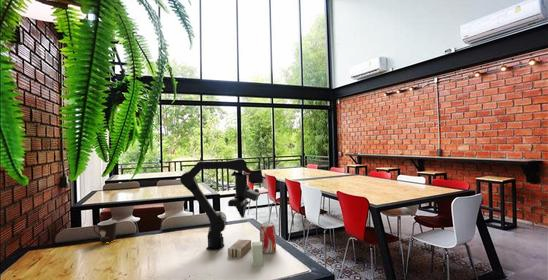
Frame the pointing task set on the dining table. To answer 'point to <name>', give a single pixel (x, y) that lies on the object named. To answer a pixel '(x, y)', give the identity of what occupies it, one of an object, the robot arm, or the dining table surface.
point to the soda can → (268, 237)
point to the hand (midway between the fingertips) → (242, 217)
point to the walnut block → (239, 248)
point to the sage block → (257, 253)
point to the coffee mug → (106, 231)
